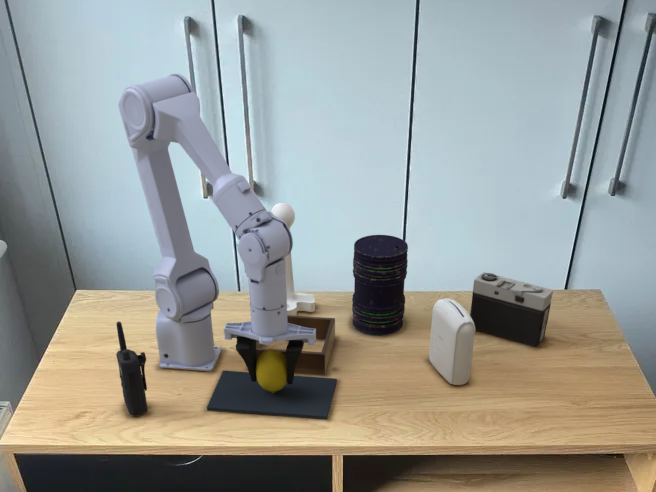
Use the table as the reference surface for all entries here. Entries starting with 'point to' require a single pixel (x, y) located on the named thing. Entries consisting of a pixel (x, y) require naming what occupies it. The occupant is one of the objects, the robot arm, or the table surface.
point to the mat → (273, 396)
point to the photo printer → (452, 341)
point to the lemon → (272, 370)
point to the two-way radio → (132, 376)
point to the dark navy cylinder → (379, 284)
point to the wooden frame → (307, 359)
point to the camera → (510, 308)
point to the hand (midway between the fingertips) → (272, 379)
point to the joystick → (293, 299)
